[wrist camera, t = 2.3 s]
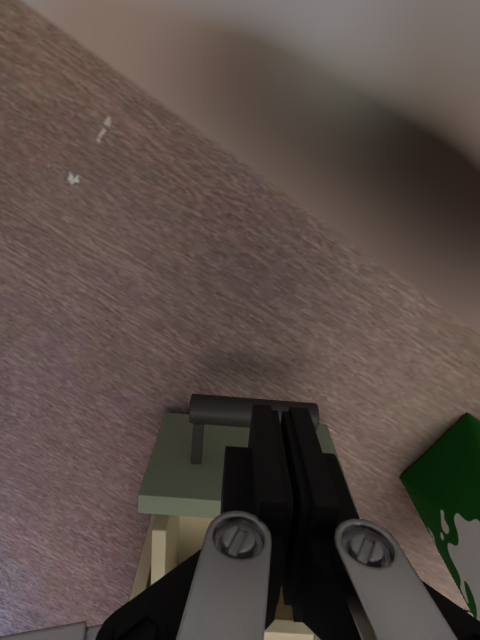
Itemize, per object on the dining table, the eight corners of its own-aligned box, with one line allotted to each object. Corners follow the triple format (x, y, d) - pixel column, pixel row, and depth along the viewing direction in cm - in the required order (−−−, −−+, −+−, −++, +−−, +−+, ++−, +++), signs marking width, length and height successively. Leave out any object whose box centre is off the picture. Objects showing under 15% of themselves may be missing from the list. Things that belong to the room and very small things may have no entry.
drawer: (166, 355, 26) (137, 423, 19) (337, 369, 27) (373, 441, 19) (160, 556, 32) (137, 667, 25) (300, 565, 32) (318, 678, 25)
